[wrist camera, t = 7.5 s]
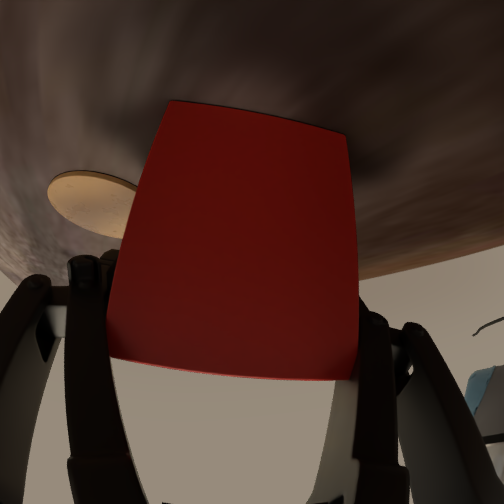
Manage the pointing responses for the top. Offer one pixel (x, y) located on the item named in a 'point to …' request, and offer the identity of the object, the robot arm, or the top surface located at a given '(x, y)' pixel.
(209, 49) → the top surface
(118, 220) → the coaster
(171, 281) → the container
